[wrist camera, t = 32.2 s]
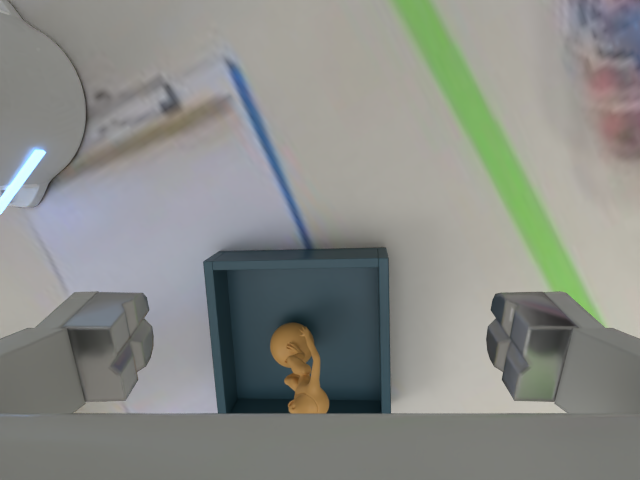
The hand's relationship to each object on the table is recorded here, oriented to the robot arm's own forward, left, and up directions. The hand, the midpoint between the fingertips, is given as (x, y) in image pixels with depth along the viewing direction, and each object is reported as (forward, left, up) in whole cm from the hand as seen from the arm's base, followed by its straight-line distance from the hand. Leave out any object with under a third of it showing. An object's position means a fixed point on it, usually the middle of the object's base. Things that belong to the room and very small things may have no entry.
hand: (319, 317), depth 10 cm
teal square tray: (-5, -12, -29) cm, 32 cm away
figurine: (-5, -13, -29) cm, 32 cm away
